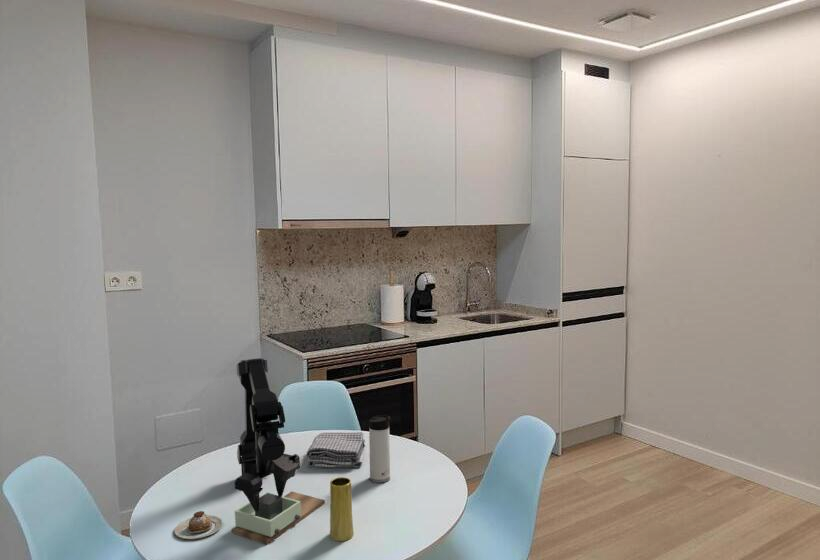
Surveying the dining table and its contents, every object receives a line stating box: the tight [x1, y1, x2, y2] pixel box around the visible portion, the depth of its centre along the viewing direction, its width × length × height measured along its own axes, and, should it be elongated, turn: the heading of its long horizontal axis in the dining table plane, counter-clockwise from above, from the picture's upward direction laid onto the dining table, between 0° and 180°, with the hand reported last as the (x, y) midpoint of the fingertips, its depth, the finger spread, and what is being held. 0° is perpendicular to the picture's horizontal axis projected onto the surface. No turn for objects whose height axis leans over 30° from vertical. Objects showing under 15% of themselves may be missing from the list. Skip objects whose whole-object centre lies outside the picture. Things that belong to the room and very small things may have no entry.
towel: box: [305, 431, 366, 469], centre depth 196 cm, size 15×18×8 cm
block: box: [255, 492, 283, 520], centre depth 153 cm, size 5×5×5 cm
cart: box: [234, 492, 301, 537], centre depth 153 cm, size 14×12×4 cm
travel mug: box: [368, 414, 391, 484], centre depth 180 cm, size 6×7×20 cm
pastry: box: [173, 510, 224, 541], centre depth 152 cm, size 12×12×5 cm
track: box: [231, 491, 326, 545], centre depth 157 cm, size 12×24×1 cm, turn 152°
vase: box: [329, 476, 355, 542], centre depth 147 cm, size 6×6×14 cm
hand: (268, 503), depth 153 cm, fingers open, 9 cm apart
